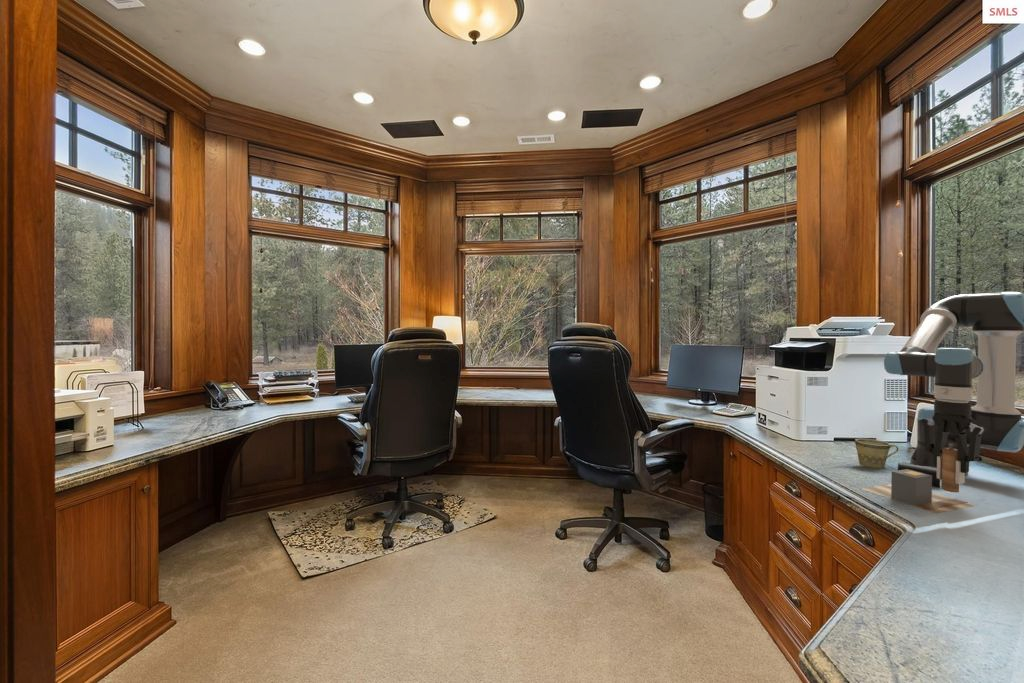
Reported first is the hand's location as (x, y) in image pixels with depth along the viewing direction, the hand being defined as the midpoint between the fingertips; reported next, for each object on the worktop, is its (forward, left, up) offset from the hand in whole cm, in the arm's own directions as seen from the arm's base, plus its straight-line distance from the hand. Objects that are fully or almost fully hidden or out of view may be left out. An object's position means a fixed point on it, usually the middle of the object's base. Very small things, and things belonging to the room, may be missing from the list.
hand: (950, 480), depth 123 cm
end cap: (-12, -14, -8) cm, 20 cm away
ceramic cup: (-18, -30, -8) cm, 36 cm away
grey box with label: (+10, -4, -6) cm, 12 cm away
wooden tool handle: (0, 0, -3) cm, 3 cm away
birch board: (+5, -6, -7) cm, 10 cm away
